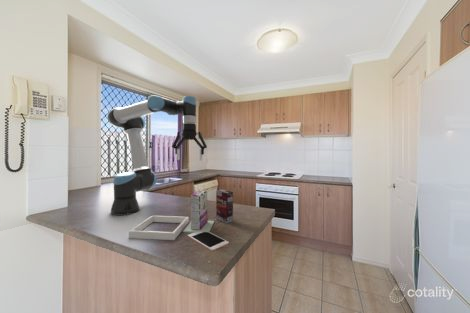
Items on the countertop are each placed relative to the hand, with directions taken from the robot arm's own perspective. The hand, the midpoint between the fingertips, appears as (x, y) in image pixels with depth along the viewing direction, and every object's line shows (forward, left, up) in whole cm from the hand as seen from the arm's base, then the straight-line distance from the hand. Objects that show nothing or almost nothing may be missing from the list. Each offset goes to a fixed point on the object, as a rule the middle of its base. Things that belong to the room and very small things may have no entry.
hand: (189, 160), depth 116 cm
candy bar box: (+11, -19, -31) cm, 38 cm away
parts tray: (-6, -24, -32) cm, 40 cm away
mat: (+11, -19, -32) cm, 39 cm away
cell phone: (+18, -32, -32) cm, 49 cm away
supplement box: (+22, -9, -32) cm, 40 cm away
